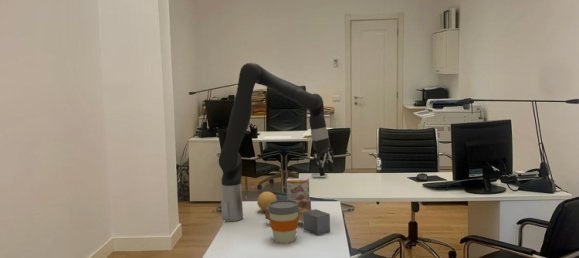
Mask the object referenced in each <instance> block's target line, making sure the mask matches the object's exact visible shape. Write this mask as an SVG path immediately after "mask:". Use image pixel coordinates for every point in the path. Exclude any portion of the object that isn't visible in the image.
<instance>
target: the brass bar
mask: <svg viewBox="0 0 579 258" xmlns="http://www.w3.org/2000/svg"><path fill="white" fill-rule="evenodd" d="M307 211H310V210H307V209H304V208H301V207H299V211H298V221H299V222H302V223H304V221H303V212H307Z"/></svg>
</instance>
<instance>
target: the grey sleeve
mask: <svg viewBox="0 0 579 258" xmlns="http://www.w3.org/2000/svg"><path fill="white" fill-rule="evenodd" d="M303 221H304V222H303V231H305V232H307V233H310V234H312V235H314V236H316V237H317V236H323V235H325V234H329V233H331V216H330V213H329V212H328V213H327V212H326V211H321V210H319V209H316V208H314V209H311V211H307V212H303Z"/></svg>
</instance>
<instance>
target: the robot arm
mask: <svg viewBox="0 0 579 258" xmlns="http://www.w3.org/2000/svg"><path fill="white" fill-rule="evenodd" d="M238 76H239V77H238V82H237V83H238V84H237V89H236V90H237V91H236V94H235V98H234V101H233V105H232V109H231V112H230V117H229V121H228V125H227V130H226V134H225V135H226V136H225V140H224V143H223V146H222V150H220V151H221V152H220V154H219V157H218V166H219V167H220V169H221V170H222V177H221V192H222V193H221V196H222V197H221V198H222V199H221V200H220V203H221V204H220V205H221V206H220V208H221V220H223V221H225V222H227V223H230V222H238V221H242V220H243V219H244V209H243V207H244V206H243V191H242V176H243V171H242V170H243V164H242V157H241V153H240V152H239V151H240V147H241V144H242V141H243V139H244V138H245V135H246V132H247V131H248V128H249V124H250V123H251V122H250V121H251V117H252V111H253V110H252V109H253V108H252V107H253V106H252V97H253V91H254V88H255V85H256V84H257V85H261V86H264V87H266V88H269V89H271V90H273V91H274V92H275V93H277V94H278V95H280V96H282V97H284V98H286V99H288V100H290V101H292V102H295V103H296V104H298V105H299V106H301V107H303V108H305V109H307V110H309V117H308V118H309V127H310V136H311V141H312V147H313V149H314V150H315V151H316V153H313V163H314V168H317V169H318V173H319V176H320V177H324V176H325V175H326V174H325V167H324V164H325V163H327V169H328V172H333V171H334V166H333V163H334V161H335V157H334V151H333V148H332V147H331V142H330V137H329V131H328V129H327V124H326V123H327V122H326V119H325V118H326V117H325V108H324V107H325V106H324V100H323V98H322V96H321V95H320V94H318V93H311V92H308V91H306V90H304V88H302V87H301V86H299V85H298V84H297V85H296V84H294V83H292V82H290V81H288V80H285V79H284V78H280V77H278V76H277V75H275V74H272V73H271V72H269V71H268V70H266V69H265V68H264V67H262V66H261V65H260V64H258V63H253V62H247V63H245V64H243V65H242V66H241V68H240V71H239V75H238Z"/></svg>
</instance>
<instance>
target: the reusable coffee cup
mask: <svg viewBox="0 0 579 258" xmlns="http://www.w3.org/2000/svg"><path fill="white" fill-rule="evenodd" d="M298 211H299V207H298V203H297V202H296V201H292V200H287V199H279V200H278V199H277V201H274V202H271V203H270V204H269V209H268V212H269V213H270V218H269V219H270V220H269V223H270V224H269V225H270V229H271V230H272V235H273V240H275V242H276V243H278V242H280V243H279V244H288V243H292V241H293V242H294V241H296V237H297V229H298V226H299V220H298Z"/></svg>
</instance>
